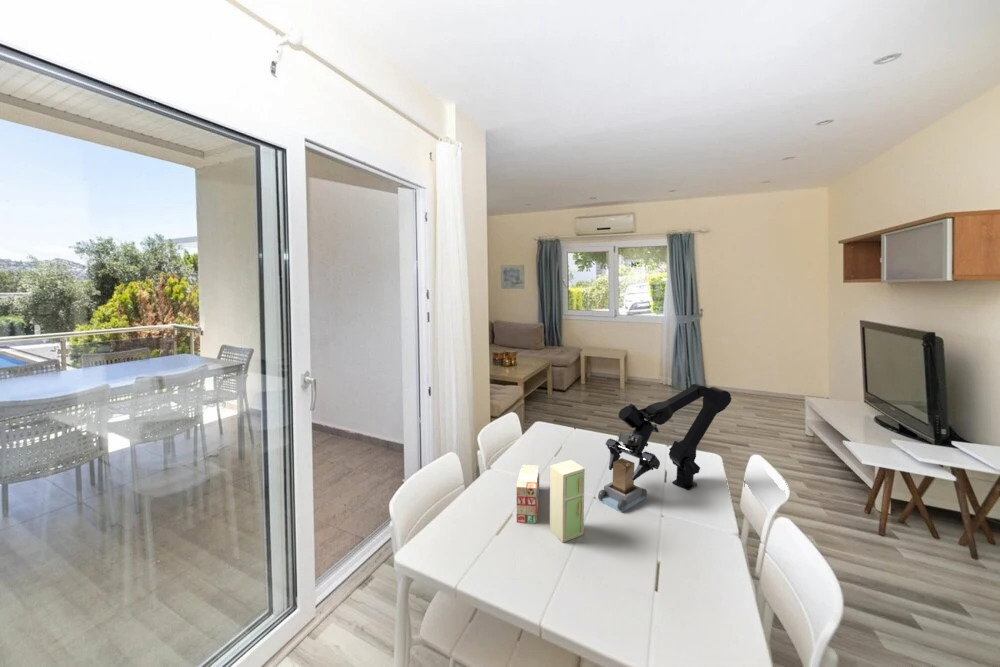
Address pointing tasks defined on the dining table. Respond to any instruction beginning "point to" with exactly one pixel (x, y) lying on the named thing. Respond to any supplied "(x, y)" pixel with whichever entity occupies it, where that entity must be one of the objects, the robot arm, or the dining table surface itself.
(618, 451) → the robot arm
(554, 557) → the dining table surface
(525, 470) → the stack of blocks
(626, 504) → the chassis
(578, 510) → the toy refrigerator
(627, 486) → the tall tan wooden block
